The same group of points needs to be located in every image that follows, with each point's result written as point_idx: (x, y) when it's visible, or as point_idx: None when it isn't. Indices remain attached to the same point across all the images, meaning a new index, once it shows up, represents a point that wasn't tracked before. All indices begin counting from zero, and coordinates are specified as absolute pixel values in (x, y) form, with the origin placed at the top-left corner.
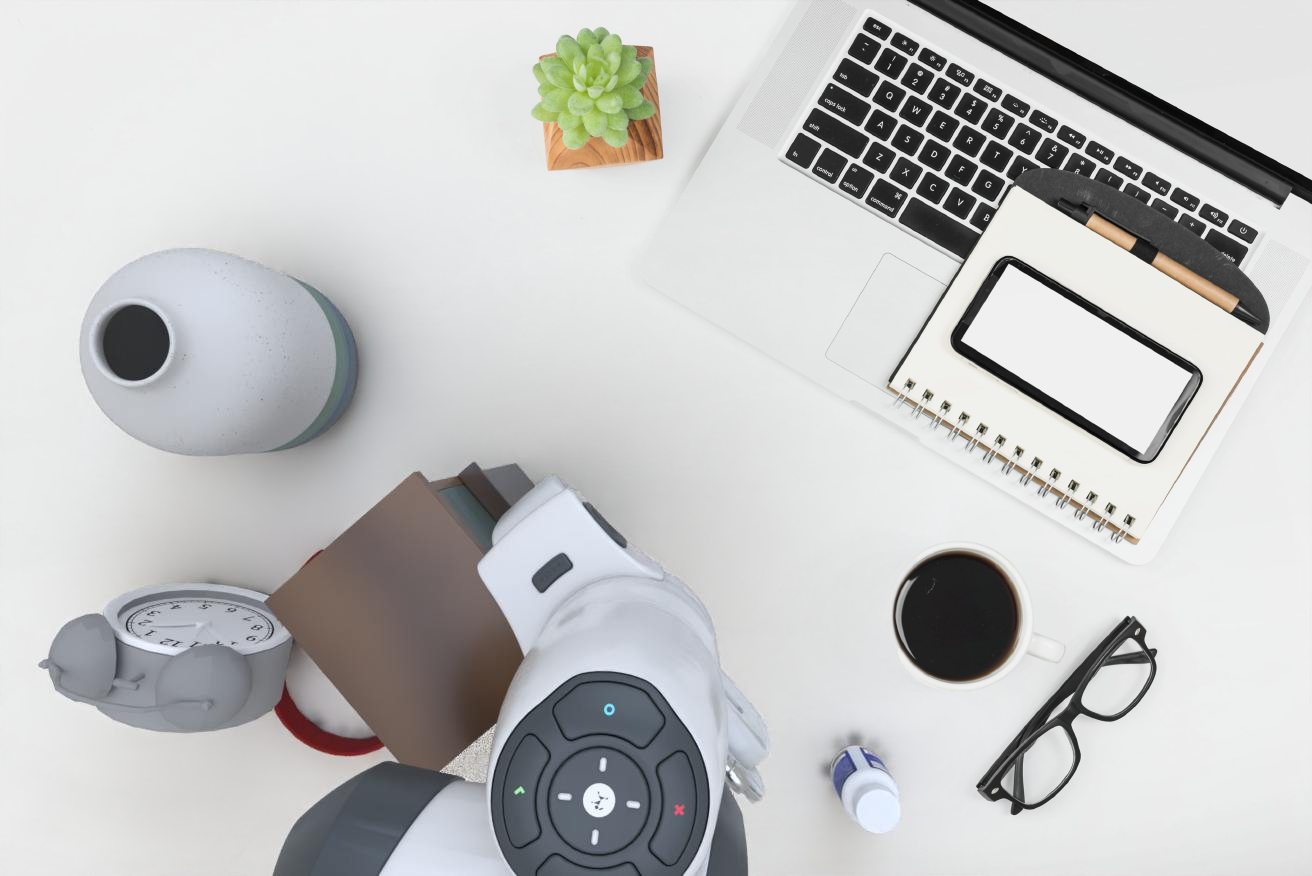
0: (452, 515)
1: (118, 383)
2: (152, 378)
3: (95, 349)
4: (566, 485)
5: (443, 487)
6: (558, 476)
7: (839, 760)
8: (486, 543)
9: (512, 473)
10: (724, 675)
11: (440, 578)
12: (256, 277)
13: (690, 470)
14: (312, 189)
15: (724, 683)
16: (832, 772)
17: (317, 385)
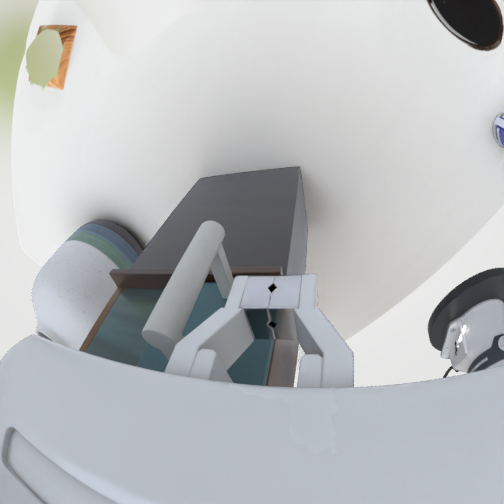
0: None
1: None
2: None
3: None
4: (19, 349)
5: (94, 332)
6: (5, 355)
7: (499, 134)
8: (137, 352)
9: (193, 192)
10: (494, 419)
11: None
12: (40, 276)
13: (265, 72)
14: (56, 199)
15: (493, 490)
16: (499, 142)
17: (99, 270)
